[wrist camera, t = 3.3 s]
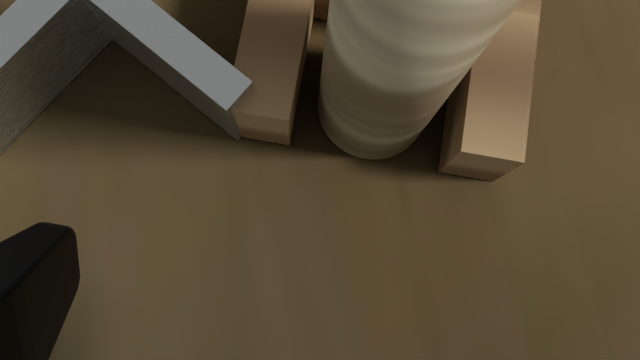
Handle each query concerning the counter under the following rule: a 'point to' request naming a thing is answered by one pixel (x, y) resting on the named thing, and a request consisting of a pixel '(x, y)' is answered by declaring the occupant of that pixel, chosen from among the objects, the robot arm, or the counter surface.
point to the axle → (397, 66)
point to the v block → (89, 40)
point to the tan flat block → (463, 103)
